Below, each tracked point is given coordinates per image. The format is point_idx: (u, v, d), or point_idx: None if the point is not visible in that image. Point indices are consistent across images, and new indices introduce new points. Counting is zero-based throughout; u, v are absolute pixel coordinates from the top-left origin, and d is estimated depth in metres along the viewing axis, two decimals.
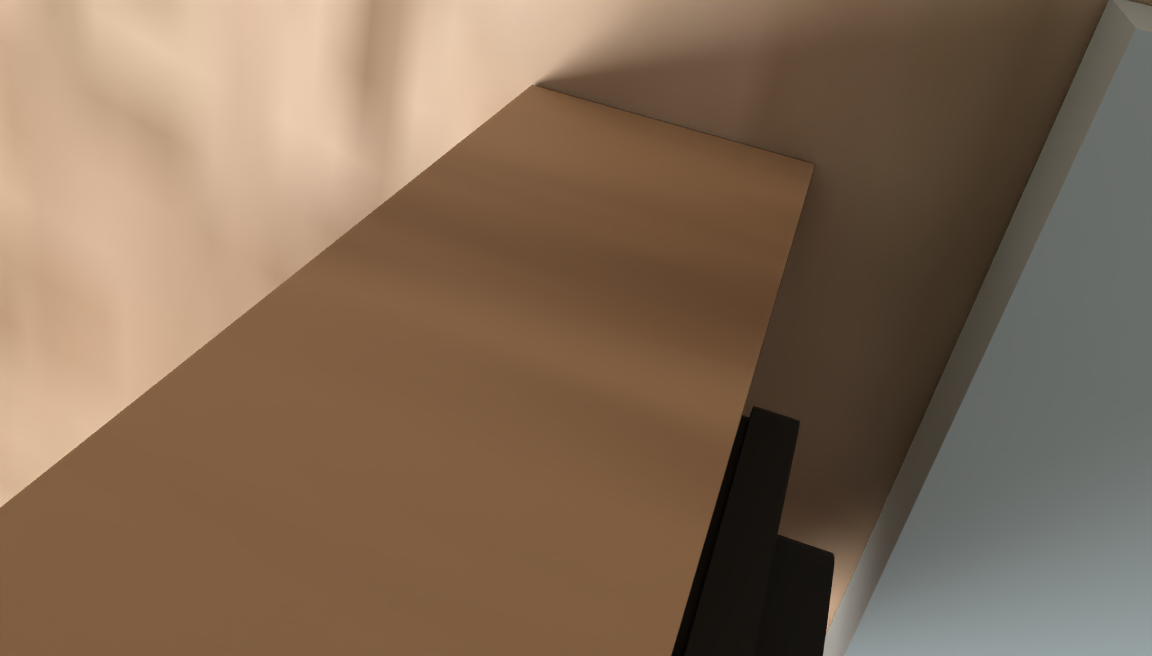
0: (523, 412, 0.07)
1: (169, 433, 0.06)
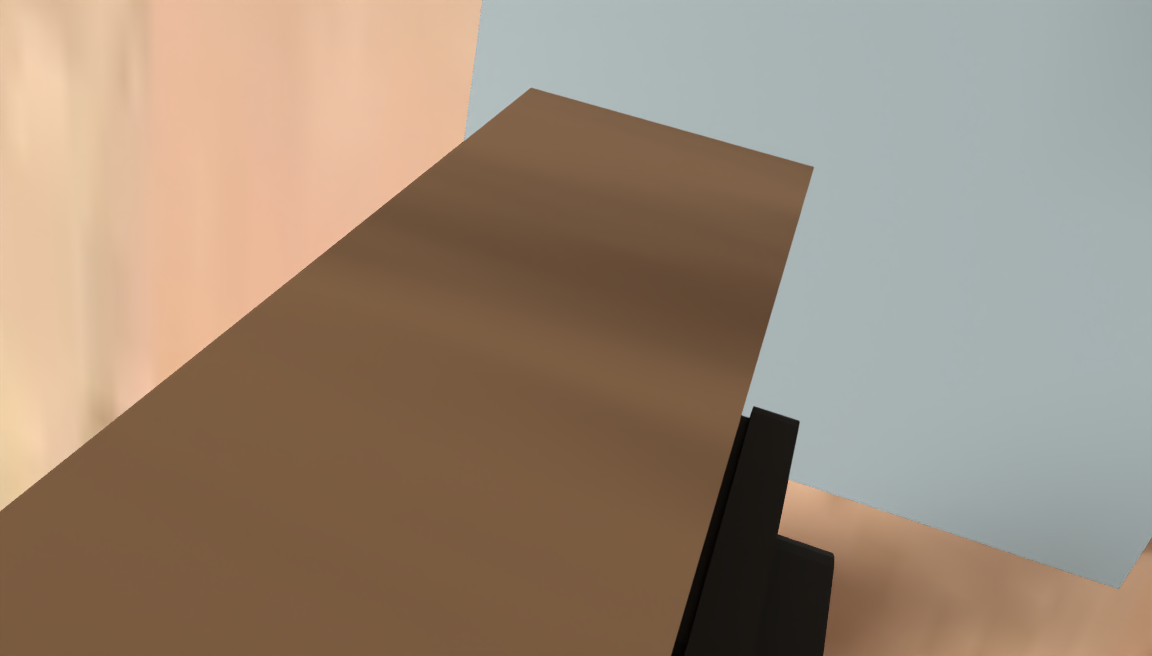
0: (520, 416, 0.07)
1: (167, 438, 0.06)
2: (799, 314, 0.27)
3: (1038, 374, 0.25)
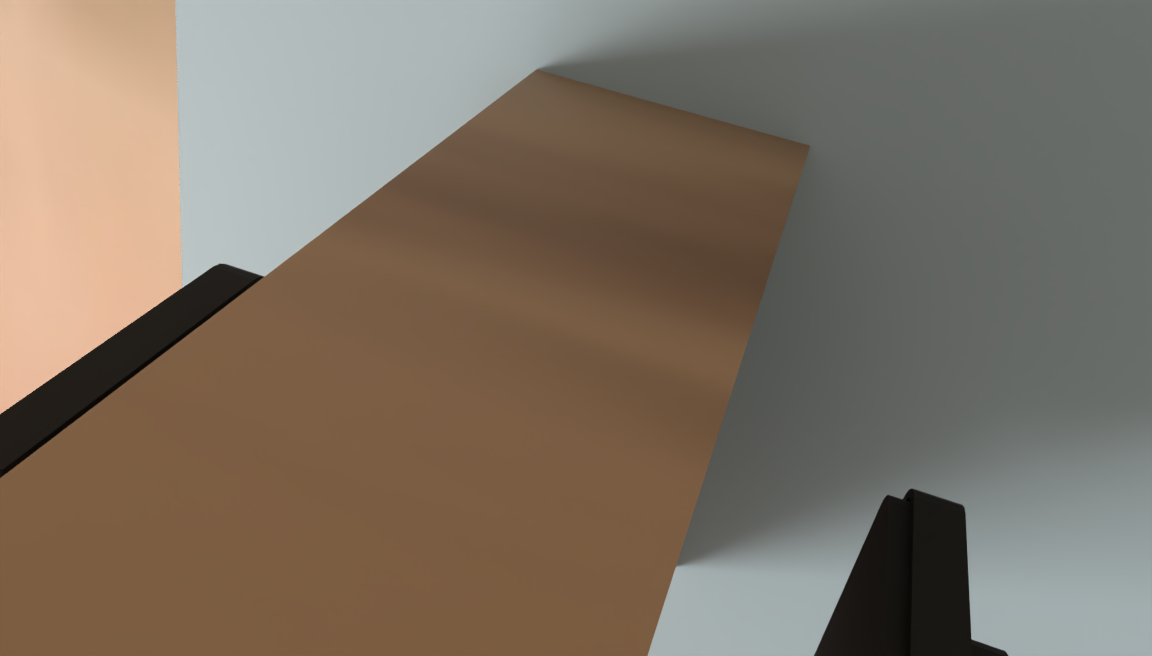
0: (530, 366, 0.07)
1: (200, 380, 0.06)
2: (717, 652, 0.16)
3: None
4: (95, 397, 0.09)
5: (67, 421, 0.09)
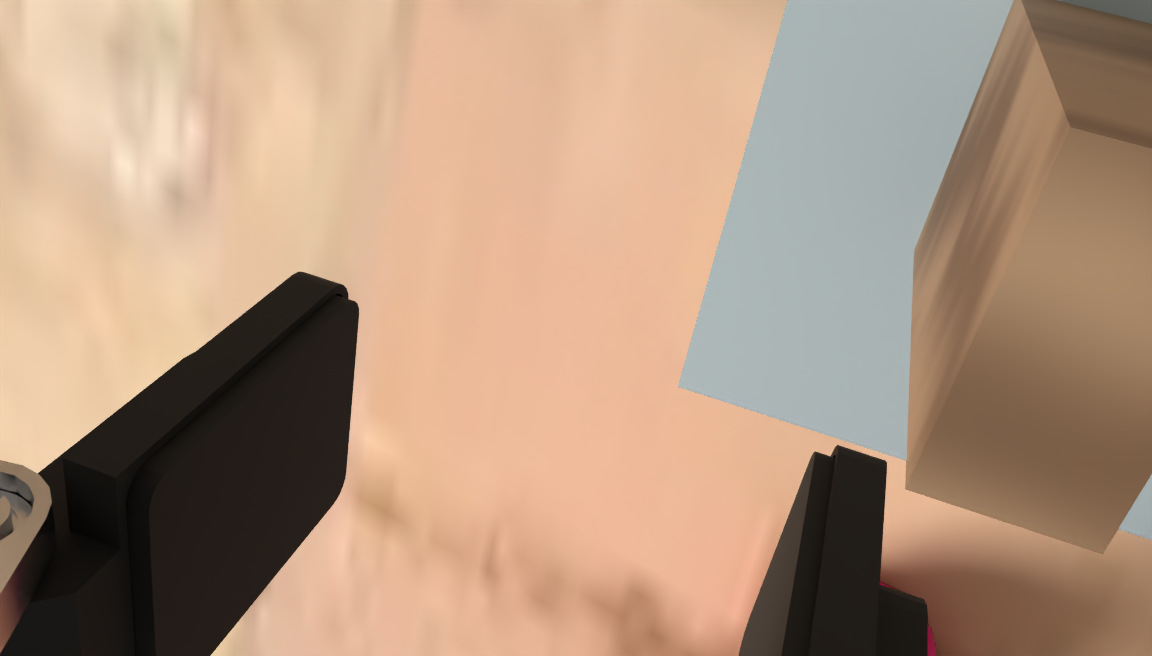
0: None
1: (1068, 74, 0.18)
2: None
3: None
4: (195, 405, 0.09)
5: (171, 429, 0.09)
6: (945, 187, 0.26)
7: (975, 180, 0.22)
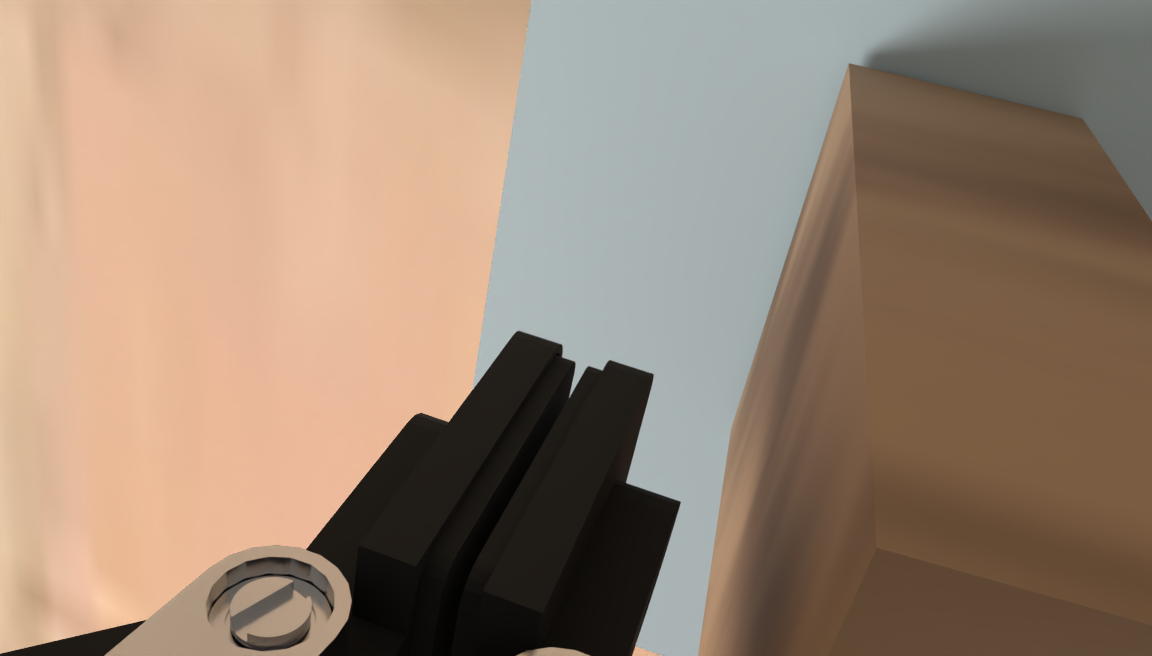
0: (1073, 282, 0.10)
1: (901, 297, 0.09)
2: None
3: None
4: (466, 483, 0.09)
5: (451, 511, 0.09)
6: (761, 356, 0.17)
7: (777, 406, 0.13)
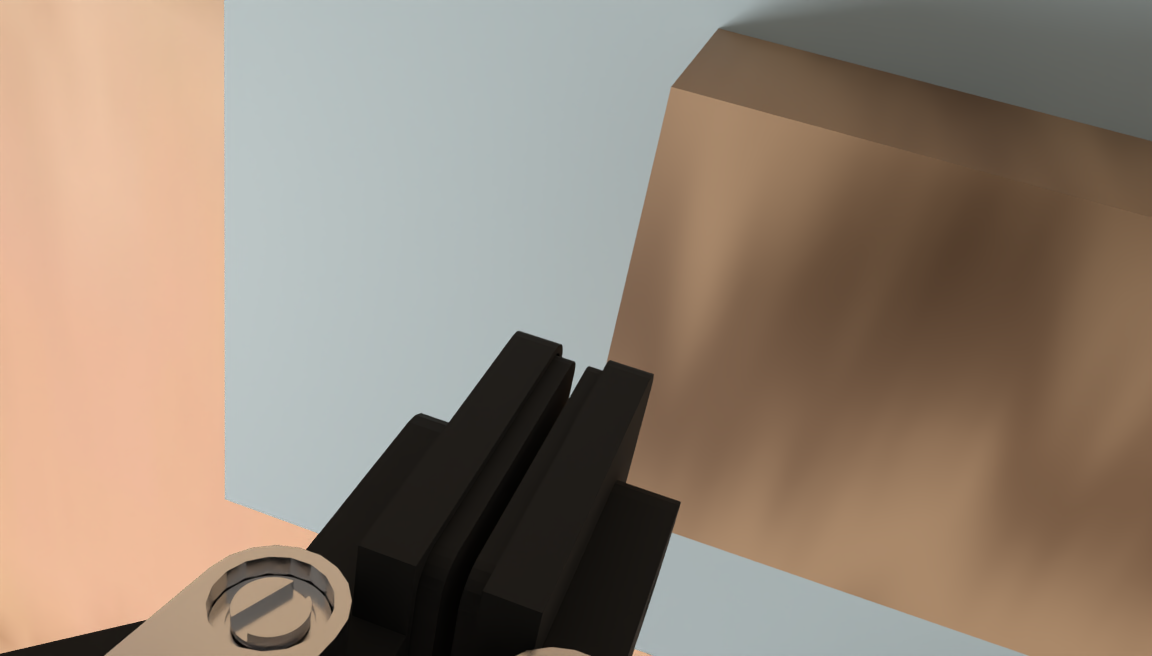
0: (1146, 166, 0.14)
1: None
2: None
3: None
4: (466, 483, 0.09)
5: (451, 511, 0.09)
6: (669, 407, 0.15)
7: (970, 400, 0.14)
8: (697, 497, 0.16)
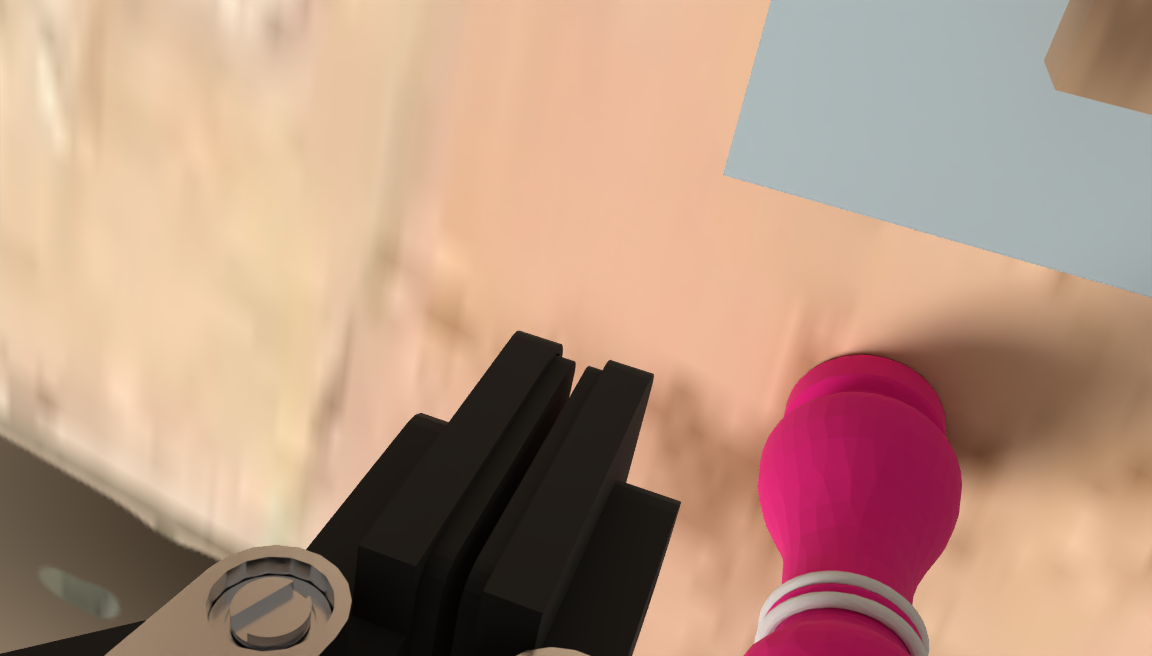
0: None
1: None
2: (1056, 111, 0.33)
3: None
4: (466, 483, 0.09)
5: (451, 511, 0.09)
6: (1130, 19, 0.28)
7: None
8: (1136, 78, 0.28)
